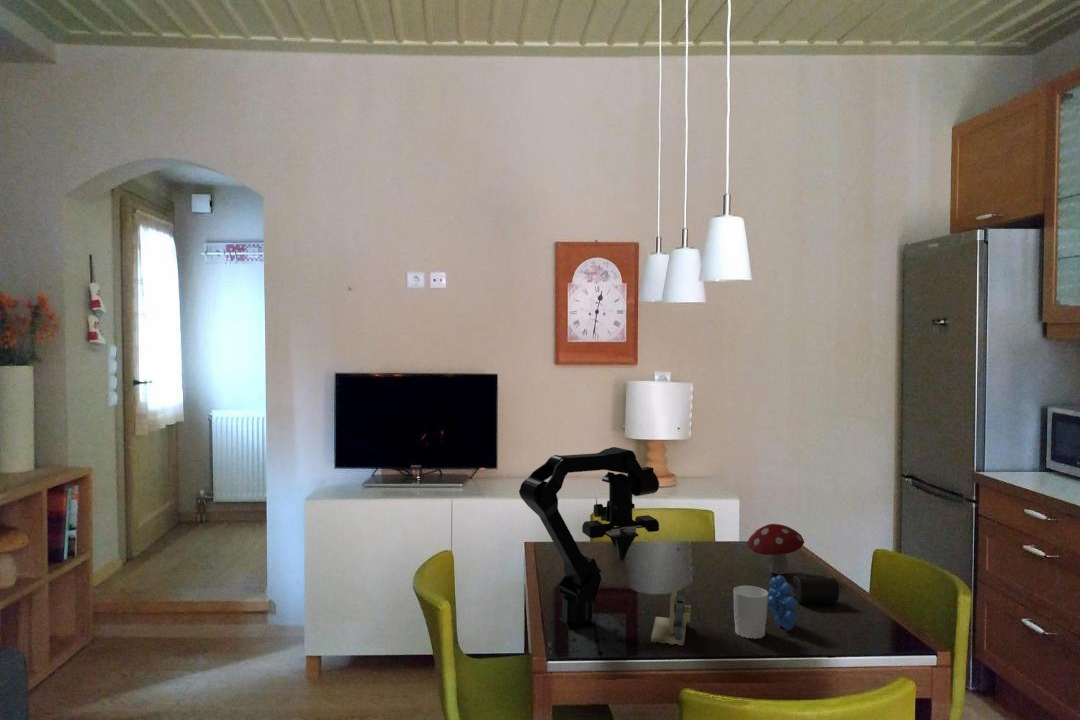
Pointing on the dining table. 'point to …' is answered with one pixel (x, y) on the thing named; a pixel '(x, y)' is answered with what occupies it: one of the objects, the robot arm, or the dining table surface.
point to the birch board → (665, 632)
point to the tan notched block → (673, 610)
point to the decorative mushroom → (775, 545)
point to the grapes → (782, 602)
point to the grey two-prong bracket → (679, 618)
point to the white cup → (750, 611)
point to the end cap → (815, 590)
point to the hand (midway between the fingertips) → (620, 560)
